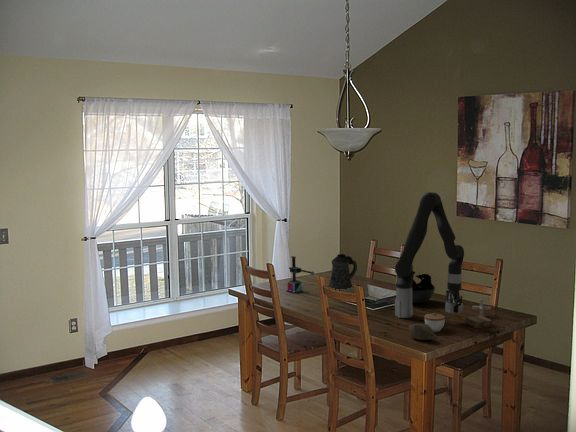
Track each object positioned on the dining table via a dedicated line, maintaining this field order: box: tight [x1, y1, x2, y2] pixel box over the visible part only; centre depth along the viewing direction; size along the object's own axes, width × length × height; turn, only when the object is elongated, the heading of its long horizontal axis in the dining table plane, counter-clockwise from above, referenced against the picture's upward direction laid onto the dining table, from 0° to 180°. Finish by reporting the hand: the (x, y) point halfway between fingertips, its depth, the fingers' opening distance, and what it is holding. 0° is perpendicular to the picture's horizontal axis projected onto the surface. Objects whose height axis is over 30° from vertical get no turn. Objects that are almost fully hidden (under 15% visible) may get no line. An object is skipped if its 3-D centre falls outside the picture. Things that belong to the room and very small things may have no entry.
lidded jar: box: [424, 312, 446, 333], centre depth 339 cm, size 11×11×9 cm
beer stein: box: [328, 253, 358, 291], centre depth 433 cm, size 16×19×25 cm
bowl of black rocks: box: [412, 270, 436, 304], centre depth 394 cm, size 20×20×19 cm
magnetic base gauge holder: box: [285, 255, 315, 294], centre depth 431 cm, size 25×9×24 cm, turn 39°
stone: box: [407, 322, 436, 341], centre depth 325 cm, size 17×9×8 cm, turn 40°
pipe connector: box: [472, 298, 491, 317], centre depth 362 cm, size 10×10×10 cm
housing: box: [444, 300, 464, 314], centre depth 351 cm, size 8×5×6 cm, turn 104°
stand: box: [463, 315, 495, 329], centre depth 347 cm, size 11×11×3 cm
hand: (453, 310), depth 351 cm, fingers closed on housing, 5 cm apart
